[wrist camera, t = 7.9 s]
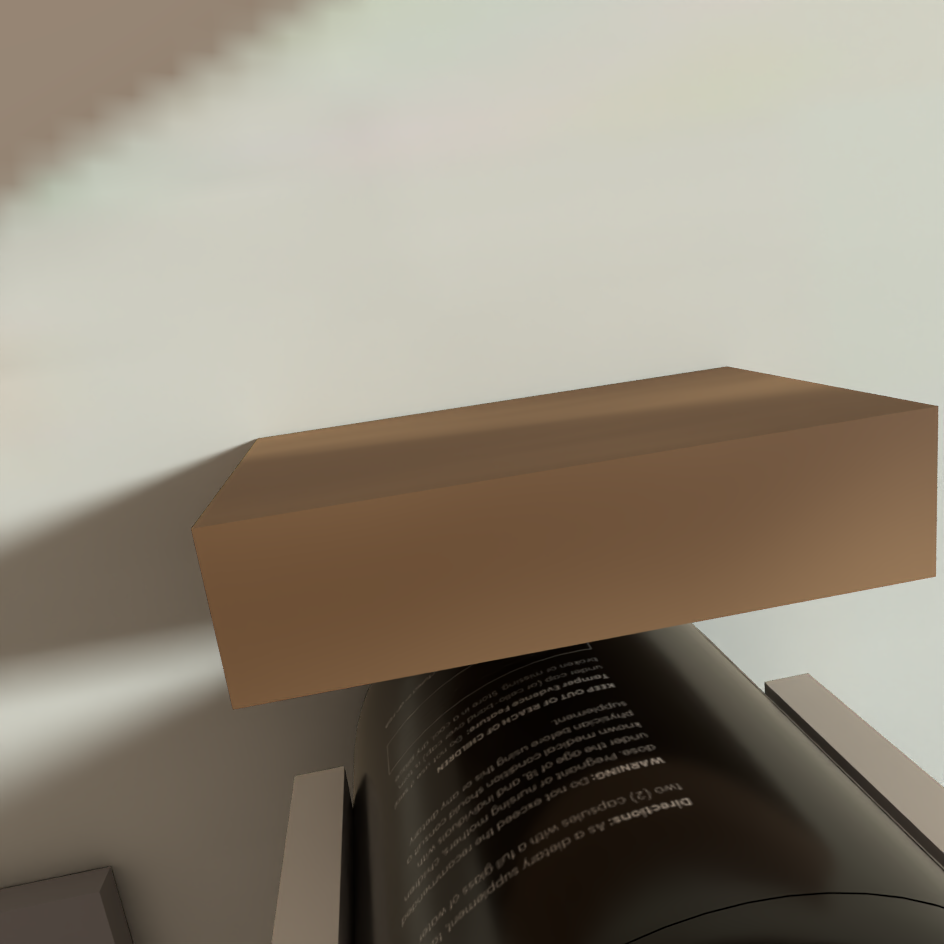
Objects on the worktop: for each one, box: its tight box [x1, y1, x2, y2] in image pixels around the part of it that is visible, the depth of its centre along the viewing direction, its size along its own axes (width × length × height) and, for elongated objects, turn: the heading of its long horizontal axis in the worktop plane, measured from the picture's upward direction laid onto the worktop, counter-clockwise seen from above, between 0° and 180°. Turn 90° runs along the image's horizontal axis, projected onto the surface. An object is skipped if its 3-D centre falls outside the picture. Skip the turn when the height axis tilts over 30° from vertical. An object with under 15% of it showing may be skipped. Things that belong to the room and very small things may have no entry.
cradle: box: [191, 367, 938, 710], centre depth 12 cm, size 12×8×5 cm, turn 8°
